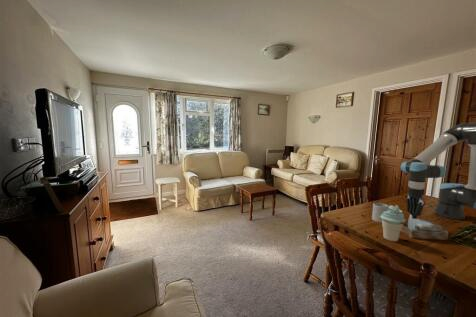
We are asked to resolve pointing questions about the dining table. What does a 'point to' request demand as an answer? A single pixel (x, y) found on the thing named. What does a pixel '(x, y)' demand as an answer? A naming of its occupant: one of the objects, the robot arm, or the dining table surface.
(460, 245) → the dining table surface
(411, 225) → the crate
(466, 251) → the dining table surface
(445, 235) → the bay
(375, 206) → the mug
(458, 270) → the dining table surface
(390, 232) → the frozen yogurt cup
